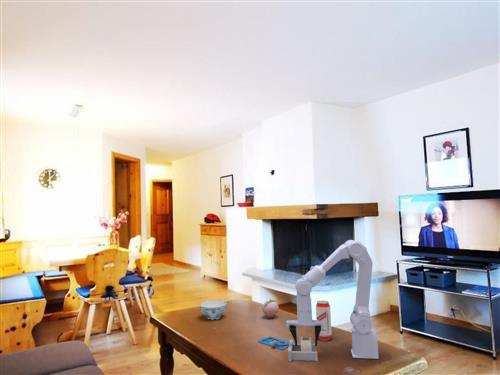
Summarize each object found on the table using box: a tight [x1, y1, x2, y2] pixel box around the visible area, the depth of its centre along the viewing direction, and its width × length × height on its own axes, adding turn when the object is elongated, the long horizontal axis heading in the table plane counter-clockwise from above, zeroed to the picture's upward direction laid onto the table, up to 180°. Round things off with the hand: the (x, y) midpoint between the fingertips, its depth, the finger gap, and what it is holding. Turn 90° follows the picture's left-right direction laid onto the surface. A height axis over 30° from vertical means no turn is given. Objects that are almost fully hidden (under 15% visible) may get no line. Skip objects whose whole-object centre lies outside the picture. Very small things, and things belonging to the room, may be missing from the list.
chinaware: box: [199, 300, 228, 321], centre depth 198 cm, size 15×15×8 cm
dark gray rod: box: [270, 342, 295, 349], centre depth 152 cm, size 10×1×1 cm, turn 100°
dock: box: [287, 339, 318, 363], centre depth 141 cm, size 11×12×4 cm
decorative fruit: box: [261, 299, 280, 319], centre depth 195 cm, size 9×8×10 cm
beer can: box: [315, 300, 333, 342], centre depth 160 cm, size 6×6×16 cm
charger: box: [300, 336, 312, 352], centre depth 142 cm, size 4×4×6 cm
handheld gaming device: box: [257, 335, 290, 351], centre depth 156 cm, size 8×1×15 cm
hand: (306, 345), depth 142 cm, fingers open, 7 cm apart
